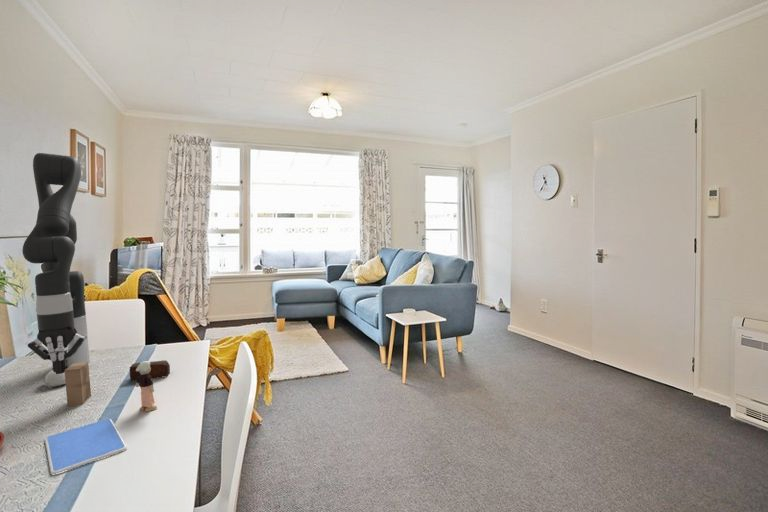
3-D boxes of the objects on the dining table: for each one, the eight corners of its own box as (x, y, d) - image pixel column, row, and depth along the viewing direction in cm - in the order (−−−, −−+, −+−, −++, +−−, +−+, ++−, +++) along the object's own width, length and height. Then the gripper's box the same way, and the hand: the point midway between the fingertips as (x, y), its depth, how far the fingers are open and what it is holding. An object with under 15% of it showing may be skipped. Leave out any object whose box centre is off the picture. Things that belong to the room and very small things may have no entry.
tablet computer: (44, 441, 89) (44, 436, 89) (111, 421, 97) (110, 416, 97) (51, 479, 75) (50, 473, 75) (128, 452, 84) (127, 446, 83)
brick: (129, 382, 122) (128, 367, 122) (133, 377, 126) (132, 363, 126) (168, 377, 126) (167, 362, 125) (170, 372, 129) (169, 359, 129)
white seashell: (35, 386, 120) (34, 371, 120) (65, 377, 127) (64, 362, 127) (50, 391, 116) (49, 374, 116) (81, 381, 124) (80, 365, 123)
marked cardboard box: (76, 397, 111) (73, 363, 110) (91, 395, 112) (88, 361, 111) (67, 406, 105) (64, 370, 105) (83, 404, 107) (80, 368, 106)
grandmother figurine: (164, 406, 104) (161, 360, 103) (151, 413, 100) (148, 365, 99) (143, 403, 106) (139, 357, 105) (129, 409, 103) (126, 362, 102)
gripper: (89, 305, 111) (94, 365, 113) (31, 310, 107) (37, 371, 108) (79, 310, 104) (84, 374, 105) (16, 315, 100) (23, 381, 101)
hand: (60, 372), depth 107 cm, fingers closed
